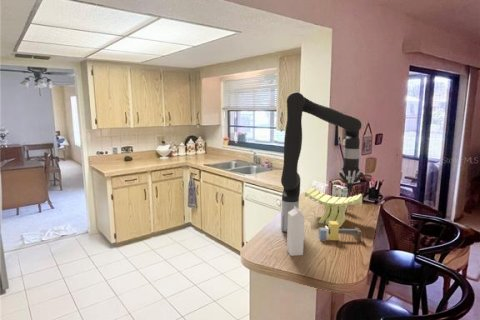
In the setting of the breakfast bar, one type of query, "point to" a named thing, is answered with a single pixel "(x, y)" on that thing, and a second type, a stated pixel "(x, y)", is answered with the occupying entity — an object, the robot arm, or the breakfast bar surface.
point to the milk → (295, 232)
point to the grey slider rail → (347, 231)
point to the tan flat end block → (358, 235)
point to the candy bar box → (339, 192)
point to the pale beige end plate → (327, 230)
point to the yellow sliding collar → (333, 230)
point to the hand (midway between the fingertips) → (349, 189)
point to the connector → (322, 234)
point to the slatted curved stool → (333, 205)
